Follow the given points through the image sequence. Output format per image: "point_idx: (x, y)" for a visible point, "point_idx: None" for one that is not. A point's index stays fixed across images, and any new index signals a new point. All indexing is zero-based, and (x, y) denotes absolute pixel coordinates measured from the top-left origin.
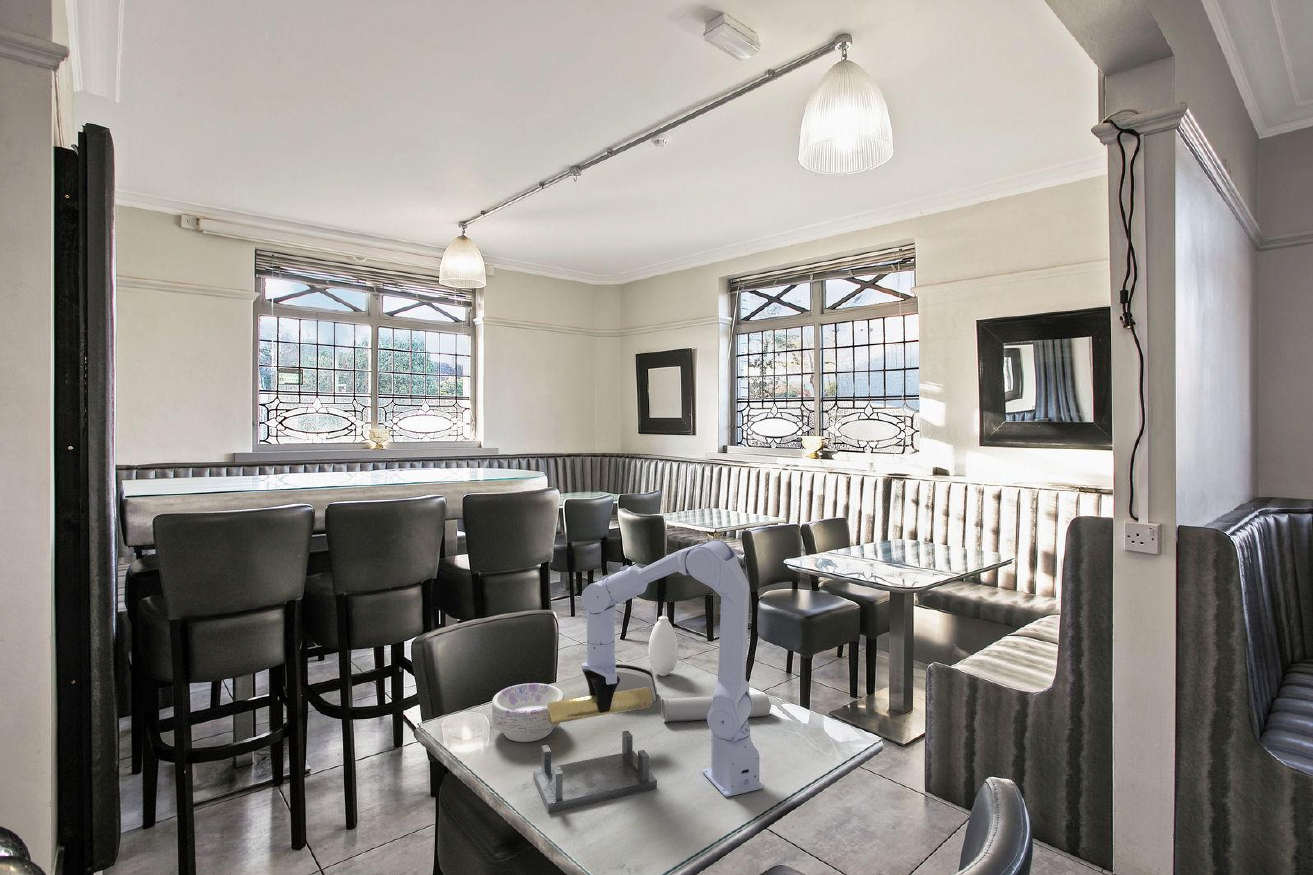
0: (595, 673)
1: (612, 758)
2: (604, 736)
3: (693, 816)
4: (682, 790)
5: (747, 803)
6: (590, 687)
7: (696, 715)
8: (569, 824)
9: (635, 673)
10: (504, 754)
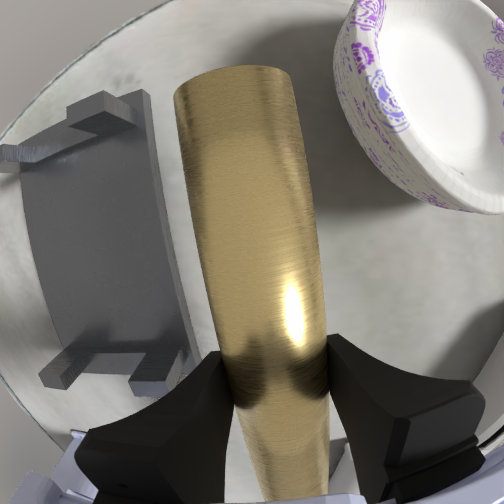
0: (375, 465)
1: (163, 315)
2: (345, 313)
3: (28, 376)
4: (82, 395)
5: (67, 440)
6: (351, 375)
7: (330, 484)
8: (3, 187)
9: (492, 427)
10: (301, 28)
